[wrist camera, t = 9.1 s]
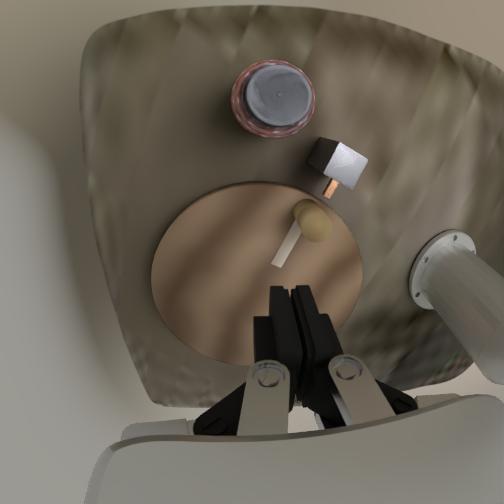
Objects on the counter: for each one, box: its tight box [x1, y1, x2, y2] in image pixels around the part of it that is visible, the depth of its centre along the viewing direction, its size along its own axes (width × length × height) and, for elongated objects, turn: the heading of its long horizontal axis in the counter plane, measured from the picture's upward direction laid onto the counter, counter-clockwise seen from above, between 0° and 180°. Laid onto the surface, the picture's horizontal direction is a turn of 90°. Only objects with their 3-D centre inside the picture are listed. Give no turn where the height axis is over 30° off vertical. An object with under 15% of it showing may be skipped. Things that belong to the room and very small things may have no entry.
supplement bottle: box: [231, 60, 315, 139], centre depth 20 cm, size 6×6×11 cm
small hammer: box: [307, 137, 368, 199], centre depth 25 cm, size 3×5×6 cm, turn 155°
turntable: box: [151, 181, 363, 366], centre depth 30 cm, size 24×24×6 cm
